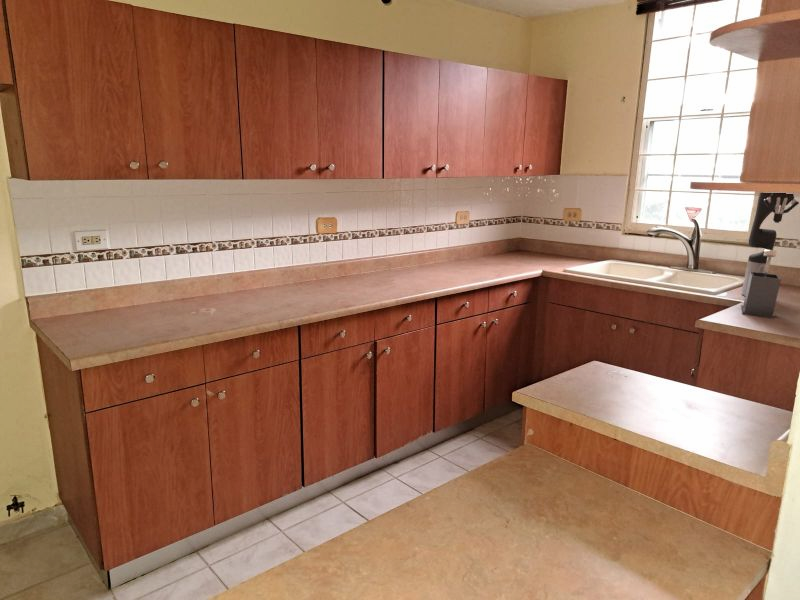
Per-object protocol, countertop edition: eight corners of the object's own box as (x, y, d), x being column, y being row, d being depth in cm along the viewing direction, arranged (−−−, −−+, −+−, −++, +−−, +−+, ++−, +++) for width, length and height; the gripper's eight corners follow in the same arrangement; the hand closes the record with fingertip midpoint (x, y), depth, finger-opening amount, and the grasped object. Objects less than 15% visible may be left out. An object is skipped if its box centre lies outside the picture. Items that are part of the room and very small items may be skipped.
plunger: (751, 284, 258) (759, 248, 254) (772, 287, 255) (780, 250, 250) (752, 288, 251) (760, 250, 247) (774, 291, 248) (782, 253, 243)
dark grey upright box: (741, 307, 264) (748, 271, 259) (771, 312, 259) (779, 274, 254) (742, 314, 253) (750, 276, 249) (774, 318, 248) (783, 279, 244)
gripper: (803, 181, 241) (793, 223, 246) (766, 179, 247) (757, 220, 251) (805, 182, 235) (796, 225, 239) (767, 180, 240) (759, 221, 245)
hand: (776, 222), depth 245 cm, fingers closed
